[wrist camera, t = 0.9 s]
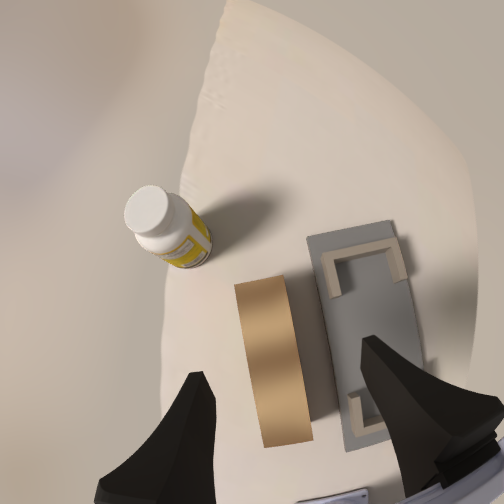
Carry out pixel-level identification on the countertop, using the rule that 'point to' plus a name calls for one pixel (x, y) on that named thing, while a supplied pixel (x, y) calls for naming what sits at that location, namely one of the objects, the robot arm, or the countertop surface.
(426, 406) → the robot arm
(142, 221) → the supplement bottle
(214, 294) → the countertop surface
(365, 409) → the cap board
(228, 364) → the countertop surface
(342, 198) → the countertop surface
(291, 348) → the oak slat
